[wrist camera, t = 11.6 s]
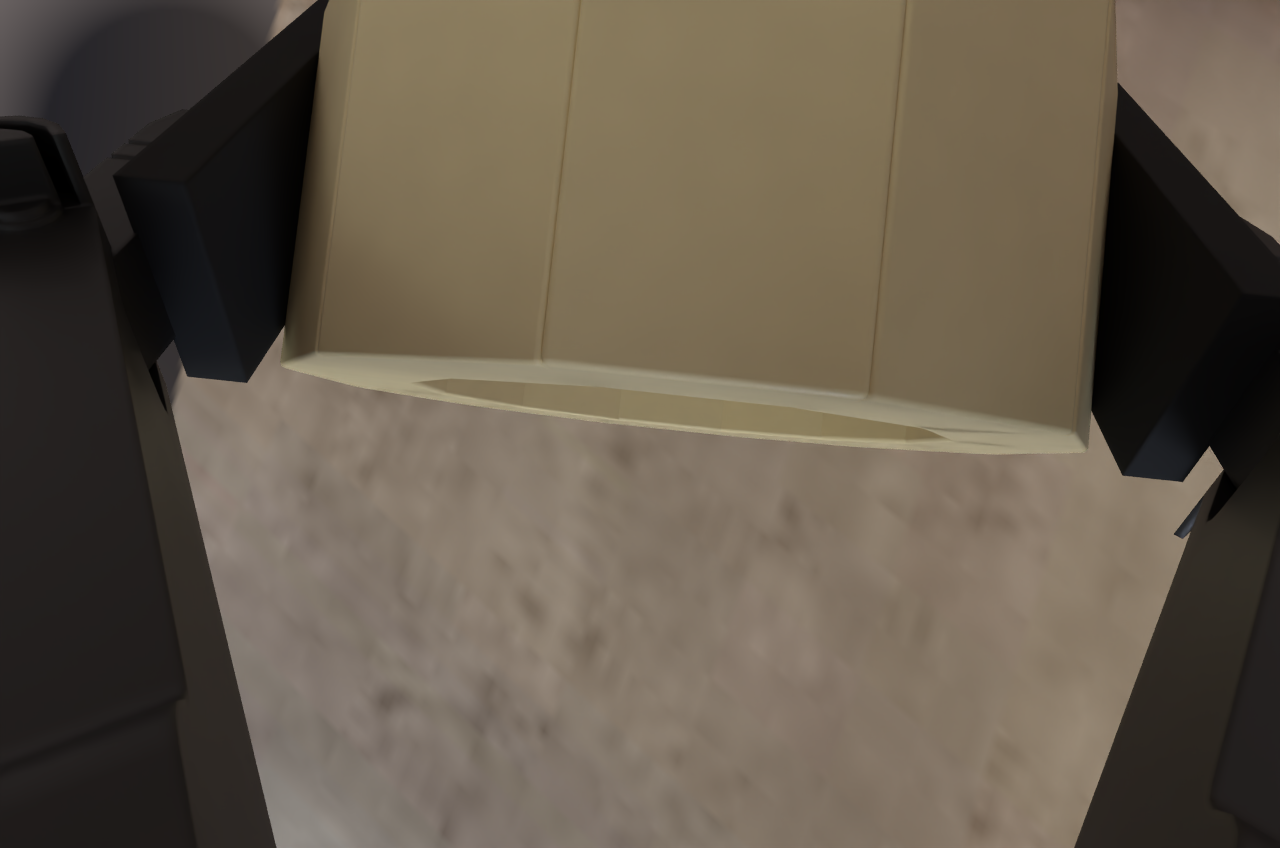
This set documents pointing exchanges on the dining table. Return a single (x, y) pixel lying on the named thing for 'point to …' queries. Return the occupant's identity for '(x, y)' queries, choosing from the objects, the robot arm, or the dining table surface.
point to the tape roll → (716, 214)
